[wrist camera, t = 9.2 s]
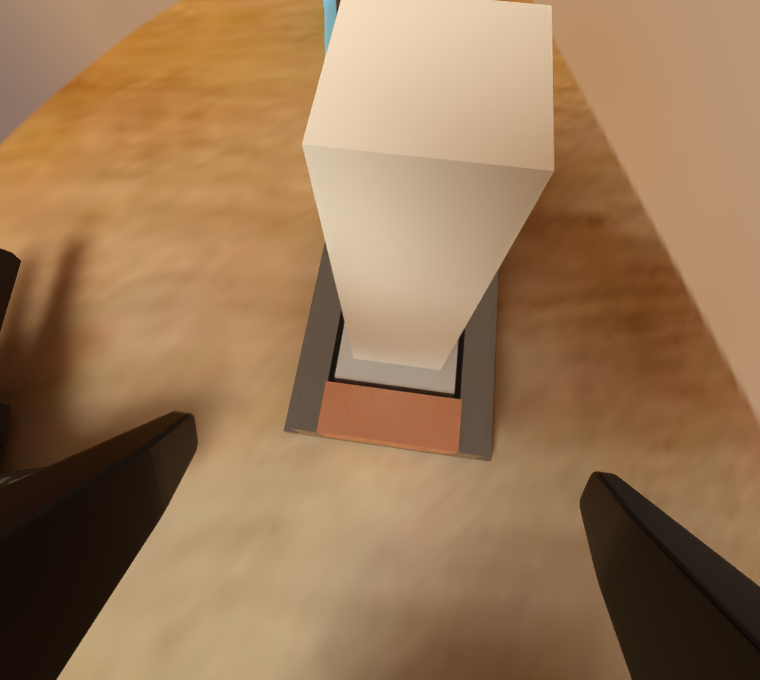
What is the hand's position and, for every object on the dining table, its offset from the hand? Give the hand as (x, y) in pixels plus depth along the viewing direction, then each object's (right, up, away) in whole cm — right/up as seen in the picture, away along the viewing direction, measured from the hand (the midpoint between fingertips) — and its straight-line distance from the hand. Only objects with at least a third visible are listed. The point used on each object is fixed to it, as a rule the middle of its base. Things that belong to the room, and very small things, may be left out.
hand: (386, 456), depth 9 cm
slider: (+1, +2, +12) cm, 12 cm away
